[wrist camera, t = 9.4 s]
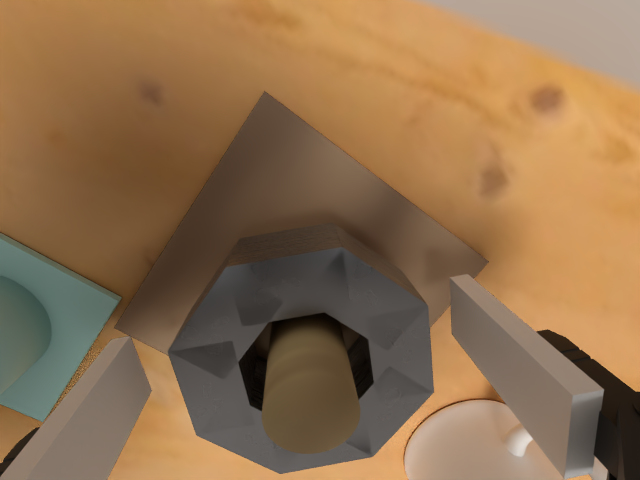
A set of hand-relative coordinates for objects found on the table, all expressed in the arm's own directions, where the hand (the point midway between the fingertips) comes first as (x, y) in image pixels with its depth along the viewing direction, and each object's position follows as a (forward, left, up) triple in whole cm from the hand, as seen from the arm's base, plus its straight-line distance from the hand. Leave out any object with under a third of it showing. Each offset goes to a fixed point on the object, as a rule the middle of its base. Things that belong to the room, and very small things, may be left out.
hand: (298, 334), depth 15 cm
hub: (0, 0, -4) cm, 4 cm away
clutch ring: (0, 0, -1) cm, 1 cm away
